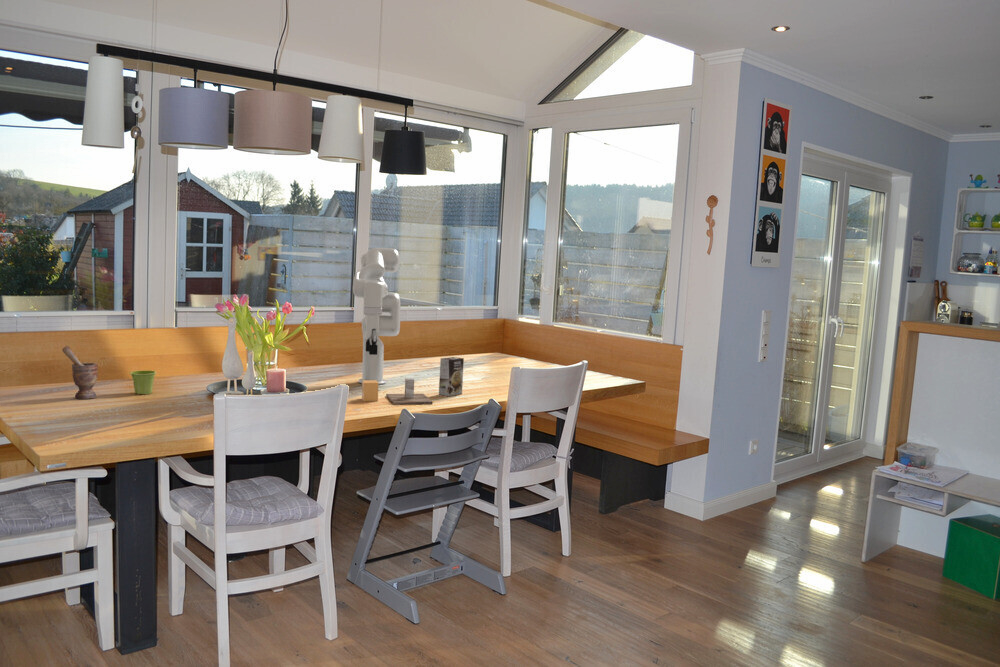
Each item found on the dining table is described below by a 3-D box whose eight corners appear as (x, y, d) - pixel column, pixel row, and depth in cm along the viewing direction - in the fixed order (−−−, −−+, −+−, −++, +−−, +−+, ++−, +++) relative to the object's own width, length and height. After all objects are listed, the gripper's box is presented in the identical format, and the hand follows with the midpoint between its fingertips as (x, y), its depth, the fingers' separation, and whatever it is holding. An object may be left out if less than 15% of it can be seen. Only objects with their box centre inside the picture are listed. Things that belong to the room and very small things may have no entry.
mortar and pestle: (64, 401, 288) (63, 348, 286) (62, 396, 295) (61, 345, 293) (99, 399, 295) (98, 347, 292) (96, 395, 302) (95, 344, 300)
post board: (386, 396, 327) (386, 375, 326) (423, 395, 332) (423, 375, 331) (393, 404, 310) (394, 382, 309) (432, 404, 315) (433, 382, 314)
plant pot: (137, 396, 302) (137, 374, 301) (125, 393, 308) (125, 371, 307) (160, 393, 310) (160, 372, 309) (148, 390, 315) (148, 369, 315)
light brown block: (361, 398, 320) (362, 380, 319) (375, 398, 322) (376, 380, 321) (363, 401, 315) (364, 382, 314) (377, 401, 316) (378, 382, 316)
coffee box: (449, 396, 334) (450, 359, 332) (438, 394, 338) (439, 358, 336) (462, 394, 341) (464, 358, 339) (451, 391, 345) (453, 356, 343)
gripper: (360, 309, 321) (359, 350, 323) (366, 313, 305) (365, 355, 307) (378, 310, 324) (377, 350, 325) (385, 313, 307) (383, 355, 309)
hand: (371, 352), depth 316 cm, fingers open, 9 cm apart
